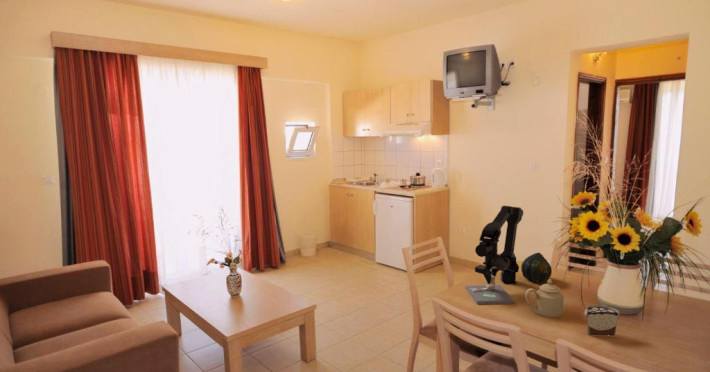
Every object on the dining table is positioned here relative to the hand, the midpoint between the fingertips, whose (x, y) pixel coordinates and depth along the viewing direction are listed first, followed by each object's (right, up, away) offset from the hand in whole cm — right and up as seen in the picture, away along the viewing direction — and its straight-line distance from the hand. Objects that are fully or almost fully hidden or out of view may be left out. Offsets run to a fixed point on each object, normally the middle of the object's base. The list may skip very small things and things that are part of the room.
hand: (490, 283), depth 203 cm
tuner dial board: (-2, -5, -3) cm, 6 cm away
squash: (+29, -2, +17) cm, 34 cm away
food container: (+28, -10, -41) cm, 51 cm away
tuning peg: (-4, -3, 0) cm, 5 cm away
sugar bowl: (+16, -8, -23) cm, 29 cm away
